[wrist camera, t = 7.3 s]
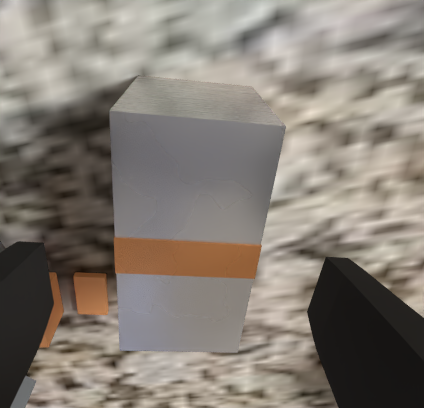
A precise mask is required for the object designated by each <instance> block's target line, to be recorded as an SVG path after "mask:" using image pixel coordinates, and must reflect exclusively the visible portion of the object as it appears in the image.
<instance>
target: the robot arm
mask: <svg viewBox="0 0 424 408" xmlns="http://www.w3.org/2000/svg"><path fill="white" fill-rule="evenodd" d="M53 306H54V299H53V293H52V288H51V282H50V276H49V270H48V264H47V258H46V253H45V247H44V243H37V242H16V243H15V244H13V245H11V246H10V247H8V248H7V249H5V250H3V251H2V252H0V408H10V407H11V405H12V403H13V401H14V399H15V397H16V394H17V392H18V390H19V388H20V386H21V384H22V382H23V380H24V378H25V376H26V374H27V372H28V370H29V367H30V365H31V363H32V361H33V359H34V357H35V355H36V353H37V350H38V348H39V346H40V344H41V342H42V339H43V336H44V333H45V330H46V327H47V325H48V321H49V318H50V315H51V312H52V309H53ZM307 313H308V318H309V322H310V326H311V331H312V335H313V338H314V342H315V346H316V349H317V352H318V355H319V358H320V360H321V363H322V366H323V368H324V371H325V374H326V376H327V379H328V382H329V384H330V387H331V389H332V392H333V394H334V397H335V400H336V402H337V405H338V407H339V408H424V318H423V317H422V316H421V315H419V314H418V313H417V312H415V311H414V310H413V309H412V308H410V307H409V306H408V305H407V304H405V303H404V302H403V301H402V300H400V299H399V298H398V297H397V296H396V295H394V294H393V293H392V292H391V291H389V290H388V289H387V288H386V287H384V286H383V285H382V284H381V283H380V282H378V281H377V280H376V279H375V278H373V277H372V276H371V275H370V274H368V273H367V272H366V271H365V270H363V269H362V268H361V267H359V266H358V265H357V264H355V263H354V262H353V261H351V260H350V259H348V258H336V257H326V258H325V261H324V264H323V267H322V270H321V273H320V276H319V279H318V282H317V285H316V288H315V291H314V293H313V296H312V299H311V302H310V305H309V308H308V311H307Z"/></svg>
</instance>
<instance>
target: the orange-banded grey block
mask: <svg viewBox="0 0 424 408" xmlns="http://www.w3.org/2000/svg"><path fill="white" fill-rule="evenodd" d="M109 115H110V138H111V161H112V183H113V206H114V229H115V236H114V255H115V273H116V275H117V298H118V320H119V343H120V350H126V351H181V352H237V353H238V348H239V343H240V339H241V334H242V329H243V325H244V320H245V316H246V311H247V306H248V302H249V297H250V292H251V288H252V283H253V279H255V275H256V270H257V265H258V261H259V256H260V251H261V247H262V246H261V241H262V236H263V232H264V227H265V222H266V218H267V213H268V208H269V204H270V199H271V194H272V190H273V185H274V180H275V176H276V171H277V166H278V162H279V157H280V152H281V148H282V143H283V138H284V134H285V129H286V126H285V124H284V123H283V122H282V121H281V120H280V119H279V117H278V116H277V115H276V114H275V113H274V112H273V110H272V109H271V108H270V107H269V106H268V105H267V103H266V102H265V101H264V100H263V99H262V98H261V96H260V95H259V94H258V93H257V92H256V91H255V89H254V88H253V87H251V86H241V85H231V84H221V83H211V82H201V81H191V80H181V79H171V78H161V77H151V76H141V75H138V77H137V78H136V79H135V80H134V81H133V83H132V84H131V85H130V86H129V88H128V89H127V90H126V91H125V92H124V94H123V95H122V96H121V97H120V98H119V100H118V101H117V102H116V103H115V104H114V106H113V107H112V108H111V109H110V110H109Z"/></svg>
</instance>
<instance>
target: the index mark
mask: <svg viewBox="0 0 424 408" xmlns="http://www.w3.org/2000/svg"><path fill="white" fill-rule="evenodd" d="M73 278H74V286H75V294H76V302H77V310H78V314H94V315H107V314H108V295H107V278H106V274H105V273H81V272H75V274H74V276H73Z"/></svg>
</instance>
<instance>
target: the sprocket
mask: <svg viewBox="0 0 424 408" xmlns="http://www.w3.org/2000/svg"><path fill="white" fill-rule="evenodd" d="M5 249H6V248H5V247H4V246H3V244H2V243H1V241H0V252H2V251H3V250H5ZM49 276H50V282H51V288H52V293H53V299H54V306H53V309H52V312H51V315H50V318H49V321H48V325H47V327H46V330H45V333H44V336H43V339H42V342H41V344H40V346H39V347H49V345H50V343H51V340H52V338H53V336H54V333H55V331H56V329H57V326H58V324H59V322H60V319H61V317H62V315H63V312H64V309H63V304H62V300H61V295H60V290H59V285H58V280H57V275H56V273H52V272H49ZM35 383H36V381H35V380H33V379H31V378H29V377H27V376H25V378H24V380H23V382H22V384H21V386H20V388H19V390H18V392H17V394H16V397H15V399H14V401H13V403H12V405H11V407H10V408H25V407H26V404H27V402H28V400H29V397H30V395H31V392H32V390H33V388H34V385H35Z"/></svg>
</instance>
